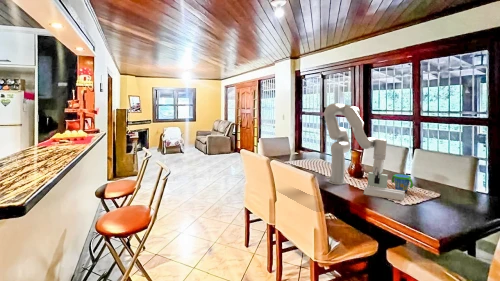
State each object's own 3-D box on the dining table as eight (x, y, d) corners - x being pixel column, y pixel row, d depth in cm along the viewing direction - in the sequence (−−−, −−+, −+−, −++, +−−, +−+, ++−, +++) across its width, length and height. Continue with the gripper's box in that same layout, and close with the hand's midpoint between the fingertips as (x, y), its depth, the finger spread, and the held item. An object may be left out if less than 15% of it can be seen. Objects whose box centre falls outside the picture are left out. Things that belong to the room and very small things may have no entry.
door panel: (367, 185, 209) (368, 172, 208) (368, 184, 212) (369, 172, 211) (385, 188, 202) (387, 175, 201) (386, 187, 205) (387, 174, 204)
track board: (363, 194, 197) (363, 188, 197) (367, 190, 205) (367, 185, 205) (402, 200, 184) (402, 194, 183) (404, 196, 192) (405, 190, 191)
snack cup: (416, 192, 201) (417, 177, 200) (404, 193, 198) (405, 178, 197) (399, 186, 216) (399, 172, 215) (387, 187, 213) (387, 173, 212)
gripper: (376, 154, 213) (374, 179, 215) (370, 157, 200) (368, 184, 202) (387, 155, 209) (385, 181, 211) (382, 159, 196) (380, 186, 198)
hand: (377, 182), depth 207 cm, fingers closed on door panel, 3 cm apart
